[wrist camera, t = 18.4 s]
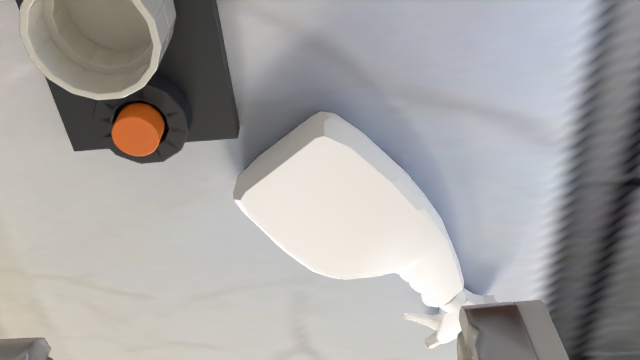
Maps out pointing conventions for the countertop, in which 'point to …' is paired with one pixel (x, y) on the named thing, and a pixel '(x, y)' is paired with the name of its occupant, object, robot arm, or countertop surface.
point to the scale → (166, 91)
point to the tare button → (138, 129)
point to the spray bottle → (355, 216)
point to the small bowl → (97, 42)
